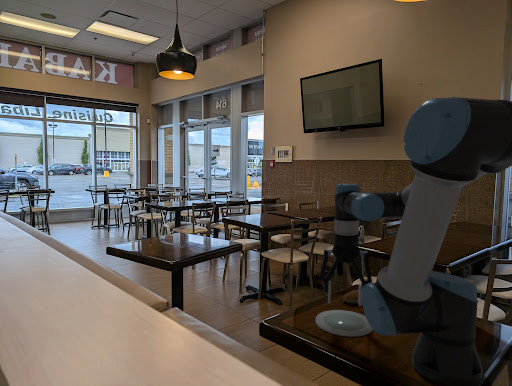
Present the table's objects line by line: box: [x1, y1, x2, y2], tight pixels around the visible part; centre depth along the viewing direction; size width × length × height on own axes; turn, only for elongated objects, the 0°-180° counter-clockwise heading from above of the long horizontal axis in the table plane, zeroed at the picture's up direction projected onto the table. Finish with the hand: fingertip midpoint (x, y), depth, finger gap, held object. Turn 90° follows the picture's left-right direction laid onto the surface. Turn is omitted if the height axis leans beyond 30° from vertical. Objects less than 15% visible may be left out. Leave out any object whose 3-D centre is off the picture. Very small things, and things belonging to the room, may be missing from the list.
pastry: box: [342, 289, 359, 304], centre depth 130 cm, size 9×7×4 cm
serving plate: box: [315, 309, 374, 338], centre depth 112 cm, size 18×18×1 cm
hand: (344, 303), depth 112 cm, fingers open, 9 cm apart
